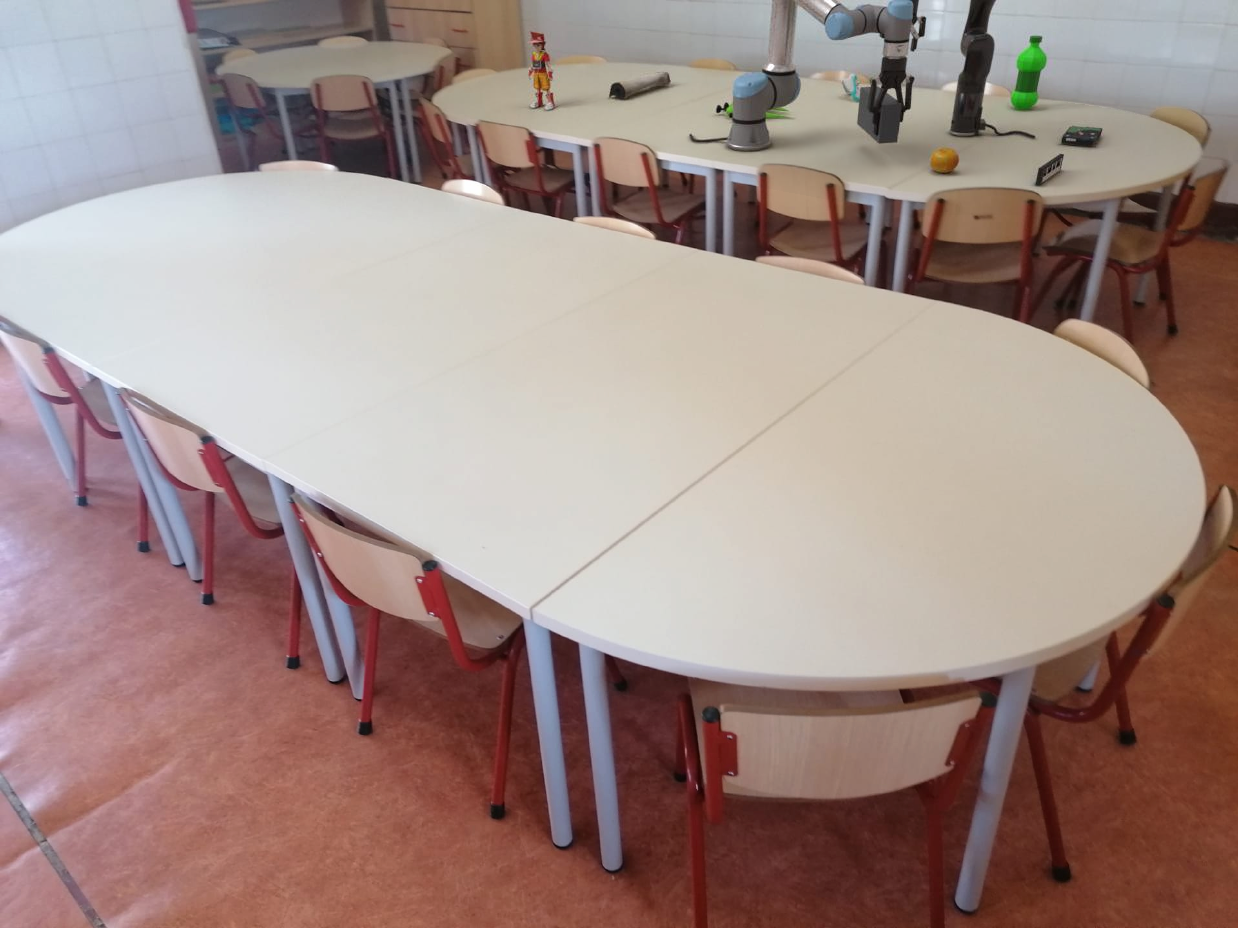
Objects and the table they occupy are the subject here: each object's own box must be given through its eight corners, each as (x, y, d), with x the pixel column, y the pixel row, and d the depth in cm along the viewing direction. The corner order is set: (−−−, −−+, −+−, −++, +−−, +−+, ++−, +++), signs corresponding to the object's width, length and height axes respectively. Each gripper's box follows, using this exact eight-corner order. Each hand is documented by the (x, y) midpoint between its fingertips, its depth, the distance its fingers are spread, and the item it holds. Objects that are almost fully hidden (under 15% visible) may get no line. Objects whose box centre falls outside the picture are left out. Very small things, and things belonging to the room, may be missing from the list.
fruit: (924, 163, 281) (941, 140, 278) (925, 165, 289) (941, 143, 286) (946, 178, 280) (963, 155, 277) (947, 180, 288) (963, 158, 285)
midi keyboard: (1039, 185, 269) (1043, 168, 266) (1035, 184, 270) (1038, 168, 267) (1060, 170, 279) (1064, 154, 277) (1056, 169, 280) (1060, 153, 277)
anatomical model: (837, 72, 370) (861, 66, 369) (839, 98, 376) (863, 91, 375) (847, 80, 358) (872, 73, 357) (850, 107, 364) (874, 100, 363)
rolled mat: (651, 76, 408) (662, 61, 399) (662, 93, 408) (674, 79, 400) (605, 92, 391) (616, 77, 383) (617, 110, 391) (628, 95, 383)
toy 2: (706, 117, 350) (777, 129, 338) (708, 103, 348) (779, 115, 335) (737, 106, 371) (804, 117, 358) (738, 93, 368) (807, 104, 355)
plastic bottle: (1042, 108, 341) (1057, 36, 326) (1025, 113, 336) (1039, 40, 322) (1019, 103, 348) (1033, 33, 333) (1002, 108, 343) (1015, 37, 329)
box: (856, 124, 309) (860, 87, 302) (874, 122, 309) (878, 86, 303) (878, 144, 289) (883, 105, 282) (897, 142, 289) (902, 103, 282)
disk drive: (1093, 148, 297) (1100, 136, 307) (1095, 139, 295) (1103, 127, 305) (1060, 144, 302) (1068, 133, 312) (1062, 136, 300) (1070, 124, 310)
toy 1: (525, 109, 381) (517, 32, 364) (534, 104, 388) (527, 28, 371) (550, 110, 377) (543, 32, 360) (559, 105, 384) (553, 28, 367)
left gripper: (867, 61, 273) (860, 138, 287) (929, 56, 274) (918, 134, 287) (860, 56, 280) (853, 132, 293) (921, 52, 280) (911, 128, 293)
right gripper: (888, -1, 283) (881, 55, 293) (933, -3, 284) (924, 53, 293) (881, -4, 290) (874, 50, 299) (925, -6, 290) (917, 49, 299)
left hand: (885, 133), depth 290 cm, fingers closed on box, 6 cm apart
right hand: (899, 51), depth 296 cm, fingers open, 8 cm apart
